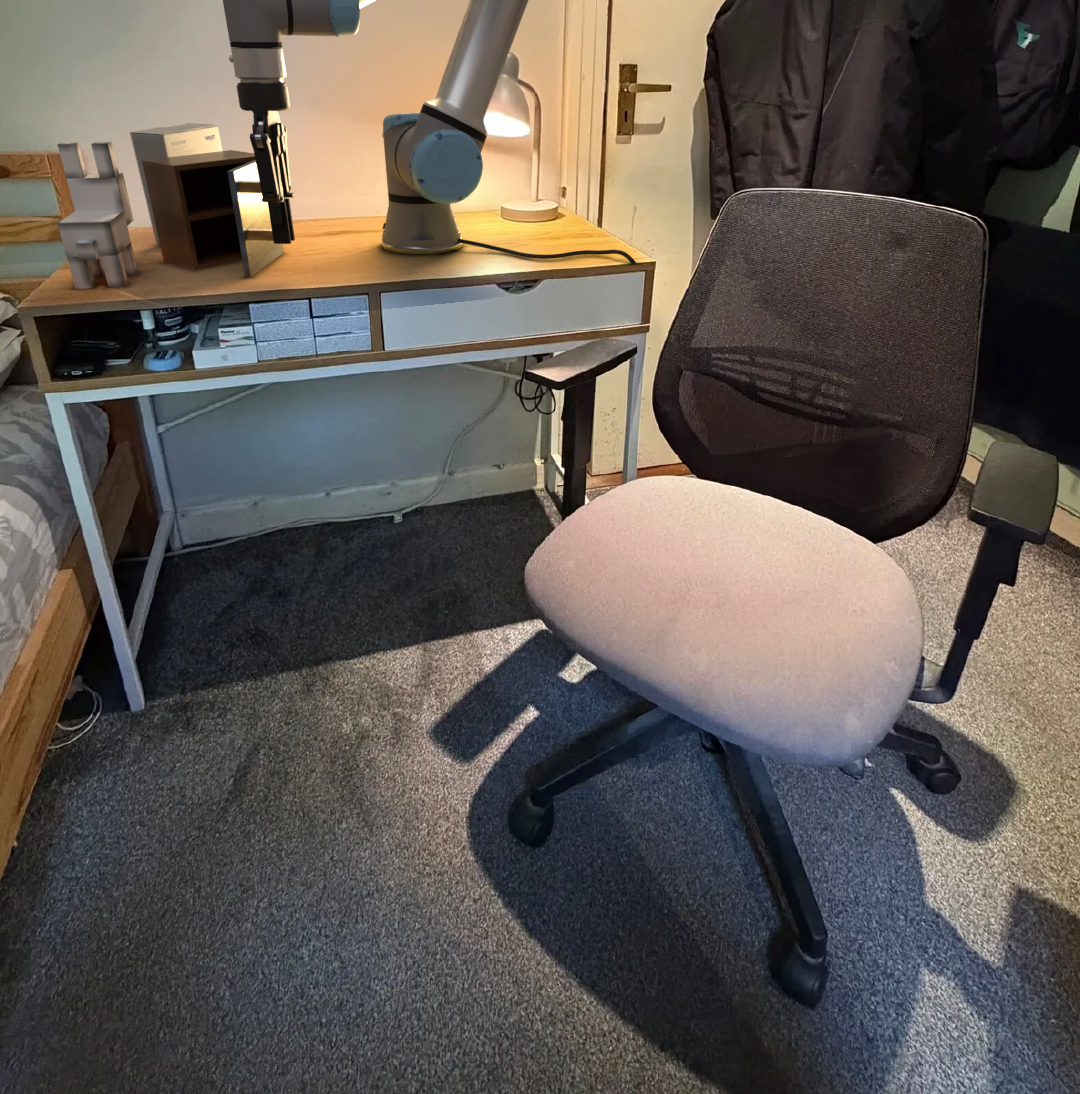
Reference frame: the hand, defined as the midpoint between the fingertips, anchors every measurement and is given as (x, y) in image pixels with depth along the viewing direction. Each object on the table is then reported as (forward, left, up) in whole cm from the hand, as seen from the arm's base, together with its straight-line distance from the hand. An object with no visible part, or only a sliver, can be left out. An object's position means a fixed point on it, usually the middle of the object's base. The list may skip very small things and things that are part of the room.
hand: (284, 241), depth 141 cm
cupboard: (+20, -1, -6) cm, 20 cm away
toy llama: (+22, +20, -6) cm, 30 cm away
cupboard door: (+6, -4, -5) cm, 9 cm away
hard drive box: (+36, -7, -6) cm, 37 cm away
